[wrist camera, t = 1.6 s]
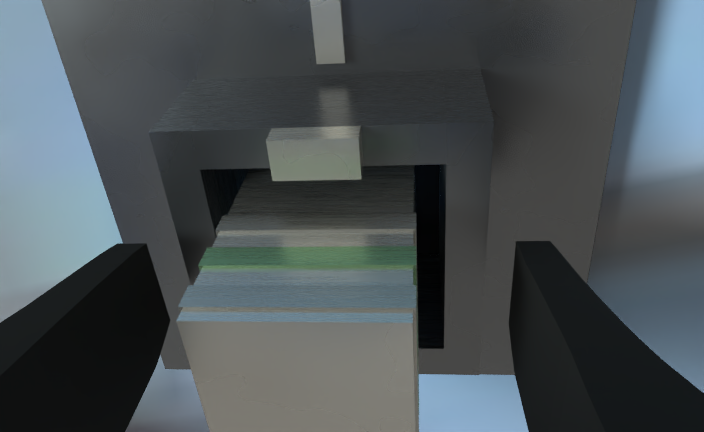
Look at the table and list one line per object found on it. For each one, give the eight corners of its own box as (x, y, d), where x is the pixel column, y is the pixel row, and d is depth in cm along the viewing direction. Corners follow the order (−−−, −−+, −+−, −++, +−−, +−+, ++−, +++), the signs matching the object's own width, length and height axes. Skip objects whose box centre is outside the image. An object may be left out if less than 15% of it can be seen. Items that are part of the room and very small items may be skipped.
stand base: (174, 349, 19) (123, 460, 16) (43, -61, 13) (-89, -20, 9) (564, 355, 18) (599, 477, 15) (639, -102, 11) (731, -71, 8)
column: (288, 238, 16) (218, 468, 11) (270, 120, 15) (172, 318, 9) (418, 237, 16) (419, 475, 10) (416, 115, 14) (415, 319, 8)
